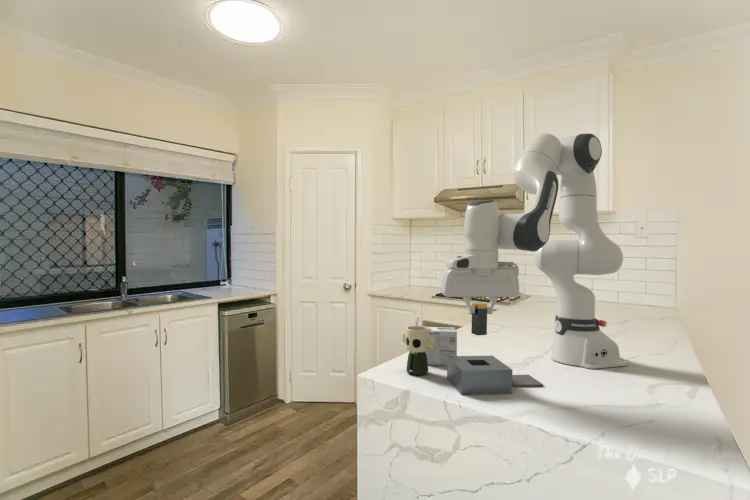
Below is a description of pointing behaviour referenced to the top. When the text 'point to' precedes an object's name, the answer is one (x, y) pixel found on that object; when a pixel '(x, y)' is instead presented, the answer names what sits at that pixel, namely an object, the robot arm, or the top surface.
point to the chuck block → (479, 375)
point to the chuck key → (479, 319)
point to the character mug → (417, 348)
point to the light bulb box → (442, 345)
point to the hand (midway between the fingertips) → (479, 313)
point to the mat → (525, 381)
